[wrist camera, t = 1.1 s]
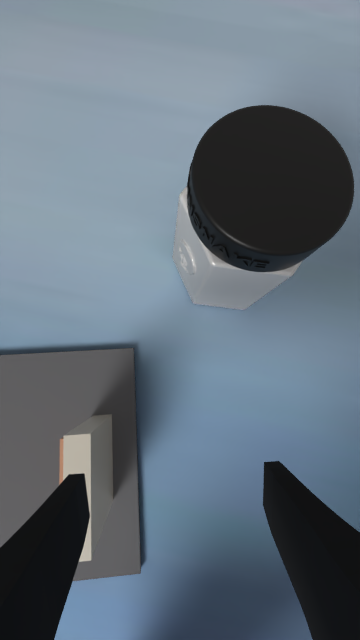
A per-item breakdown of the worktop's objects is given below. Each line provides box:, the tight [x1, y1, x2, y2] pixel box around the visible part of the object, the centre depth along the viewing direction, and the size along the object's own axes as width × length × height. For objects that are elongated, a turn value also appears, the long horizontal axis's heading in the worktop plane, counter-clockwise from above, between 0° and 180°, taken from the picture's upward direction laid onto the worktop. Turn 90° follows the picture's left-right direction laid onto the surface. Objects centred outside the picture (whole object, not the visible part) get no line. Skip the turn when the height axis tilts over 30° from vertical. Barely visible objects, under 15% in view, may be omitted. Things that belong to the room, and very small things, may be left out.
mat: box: [0, 348, 141, 581], centre depth 22 cm, size 16×16×1 cm
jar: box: [172, 105, 354, 310], centre depth 20 cm, size 9×8×12 cm
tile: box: [59, 414, 113, 562], centre depth 18 cm, size 6×2×7 cm, turn 3°
